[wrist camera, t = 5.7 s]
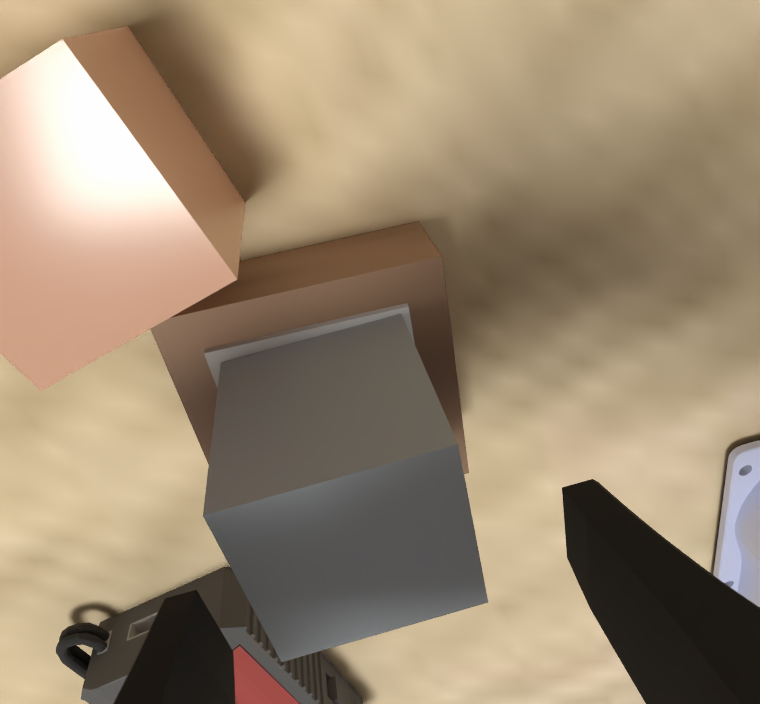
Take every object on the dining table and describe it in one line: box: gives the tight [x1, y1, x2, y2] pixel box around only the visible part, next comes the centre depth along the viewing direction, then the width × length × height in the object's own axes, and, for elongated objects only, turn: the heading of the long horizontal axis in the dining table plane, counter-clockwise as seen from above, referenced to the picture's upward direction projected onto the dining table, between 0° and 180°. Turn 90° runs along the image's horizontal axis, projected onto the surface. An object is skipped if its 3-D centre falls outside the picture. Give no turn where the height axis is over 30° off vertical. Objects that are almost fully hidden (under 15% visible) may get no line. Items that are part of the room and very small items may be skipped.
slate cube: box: [203, 314, 488, 662], centre depth 14 cm, size 4×4×5 cm
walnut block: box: [151, 222, 469, 474], centre depth 17 cm, size 7×7×3 cm
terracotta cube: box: [0, 26, 245, 391], centre depth 12 cm, size 4×4×5 cm
